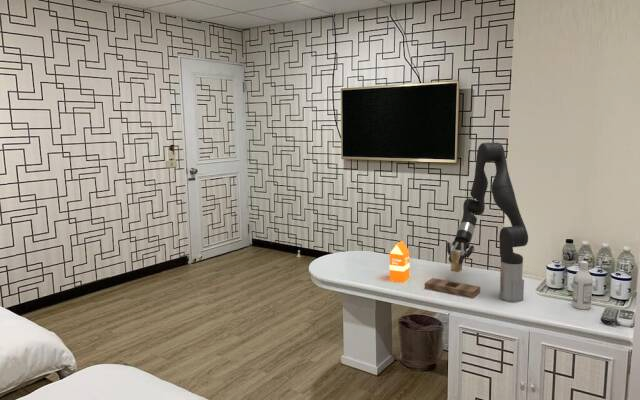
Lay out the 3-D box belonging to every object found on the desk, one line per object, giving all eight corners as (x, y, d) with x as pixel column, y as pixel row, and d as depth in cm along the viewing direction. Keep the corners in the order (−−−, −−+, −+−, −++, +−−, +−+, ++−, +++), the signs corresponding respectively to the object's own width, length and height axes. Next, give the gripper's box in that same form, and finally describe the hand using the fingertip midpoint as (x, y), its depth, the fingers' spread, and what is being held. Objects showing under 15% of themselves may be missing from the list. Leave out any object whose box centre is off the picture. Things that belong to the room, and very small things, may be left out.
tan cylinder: (462, 270, 229) (462, 250, 228) (458, 272, 226) (459, 252, 225) (454, 268, 232) (454, 249, 230) (450, 271, 229) (451, 251, 227)
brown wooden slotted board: (480, 292, 222) (480, 286, 222) (473, 298, 215) (473, 292, 215) (432, 283, 237) (432, 278, 236) (424, 288, 230) (424, 282, 229)
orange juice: (409, 278, 247) (409, 240, 244) (403, 283, 239) (403, 244, 236) (395, 276, 251) (395, 239, 248) (389, 280, 243) (389, 243, 240)
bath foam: (592, 306, 202) (595, 261, 199) (588, 311, 197) (591, 265, 194) (575, 302, 207) (577, 258, 204) (570, 307, 202) (572, 262, 199)
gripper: (449, 227, 236) (438, 256, 229) (477, 230, 228) (467, 260, 220) (453, 235, 241) (443, 264, 234) (480, 239, 233) (471, 269, 225)
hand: (455, 262), depth 227 cm, fingers closed on tan cylinder, 4 cm apart
